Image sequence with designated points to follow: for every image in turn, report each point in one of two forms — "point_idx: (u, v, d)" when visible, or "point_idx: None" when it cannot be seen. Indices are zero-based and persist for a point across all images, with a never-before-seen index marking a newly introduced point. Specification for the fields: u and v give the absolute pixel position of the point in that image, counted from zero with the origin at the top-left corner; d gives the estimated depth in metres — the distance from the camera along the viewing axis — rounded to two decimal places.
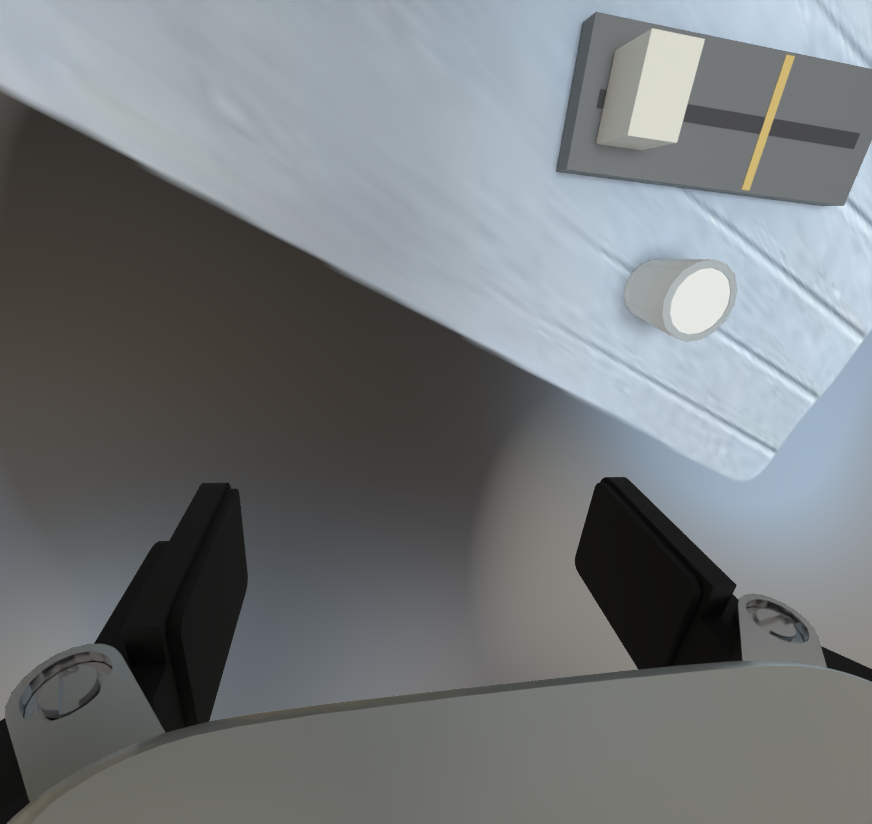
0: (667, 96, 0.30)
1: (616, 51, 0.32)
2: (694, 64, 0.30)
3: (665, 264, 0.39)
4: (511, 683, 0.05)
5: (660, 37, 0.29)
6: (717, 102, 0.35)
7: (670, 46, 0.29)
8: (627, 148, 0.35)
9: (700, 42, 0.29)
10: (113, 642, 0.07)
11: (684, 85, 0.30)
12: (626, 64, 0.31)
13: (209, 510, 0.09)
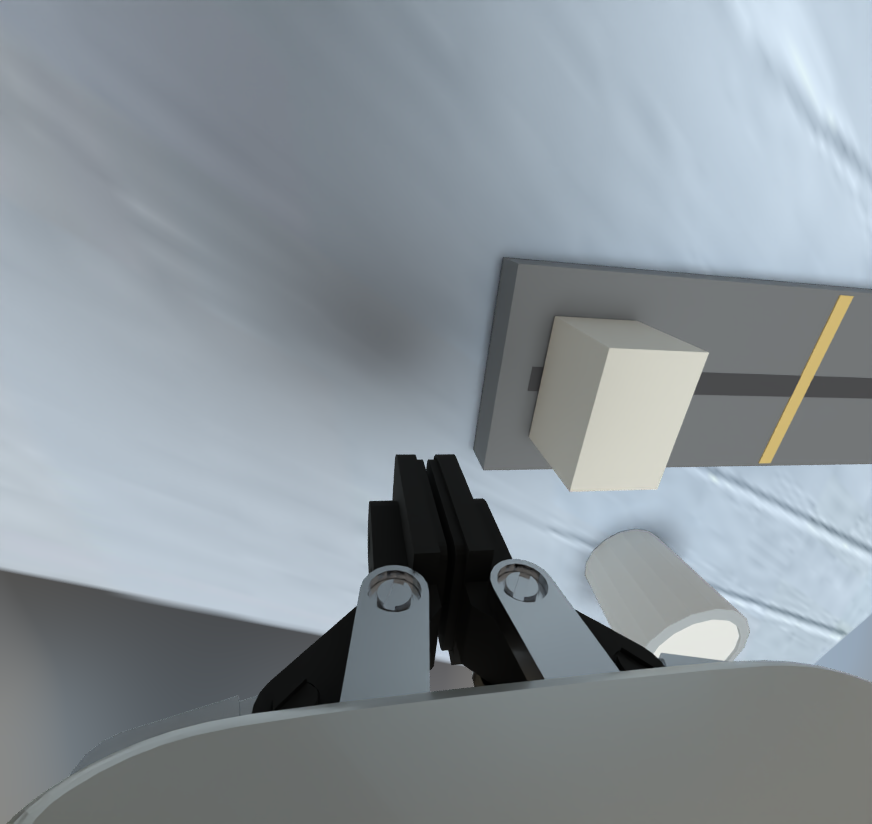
0: (640, 435, 0.17)
1: (556, 320, 0.19)
2: (689, 388, 0.16)
3: (641, 572, 0.26)
4: (511, 683, 0.05)
5: (625, 359, 0.15)
6: (726, 365, 0.22)
7: (644, 370, 0.16)
8: None
9: (700, 358, 0.16)
10: None
11: (670, 418, 0.17)
12: (570, 363, 0.18)
13: (417, 474, 0.11)
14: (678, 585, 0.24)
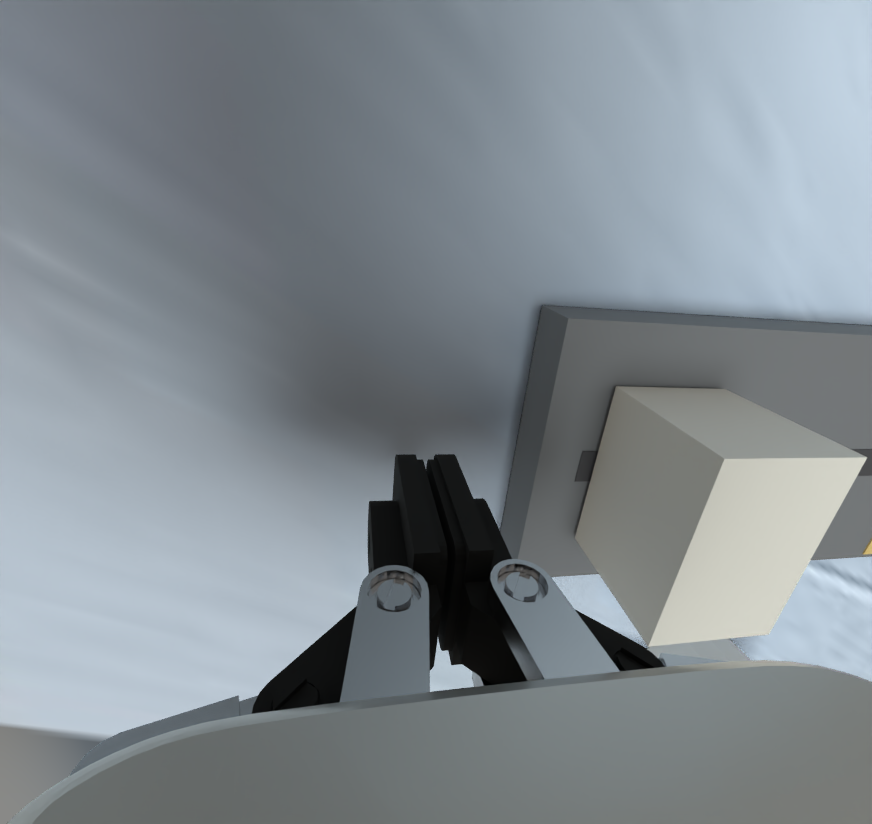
0: (755, 570, 0.12)
1: (619, 392, 0.14)
2: (831, 506, 0.11)
3: None
4: (511, 683, 0.05)
5: (746, 472, 0.10)
6: (834, 439, 0.17)
7: (771, 486, 0.10)
8: None
9: (853, 465, 0.11)
10: None
11: (799, 546, 0.11)
12: (645, 459, 0.12)
13: (418, 474, 0.11)
14: None
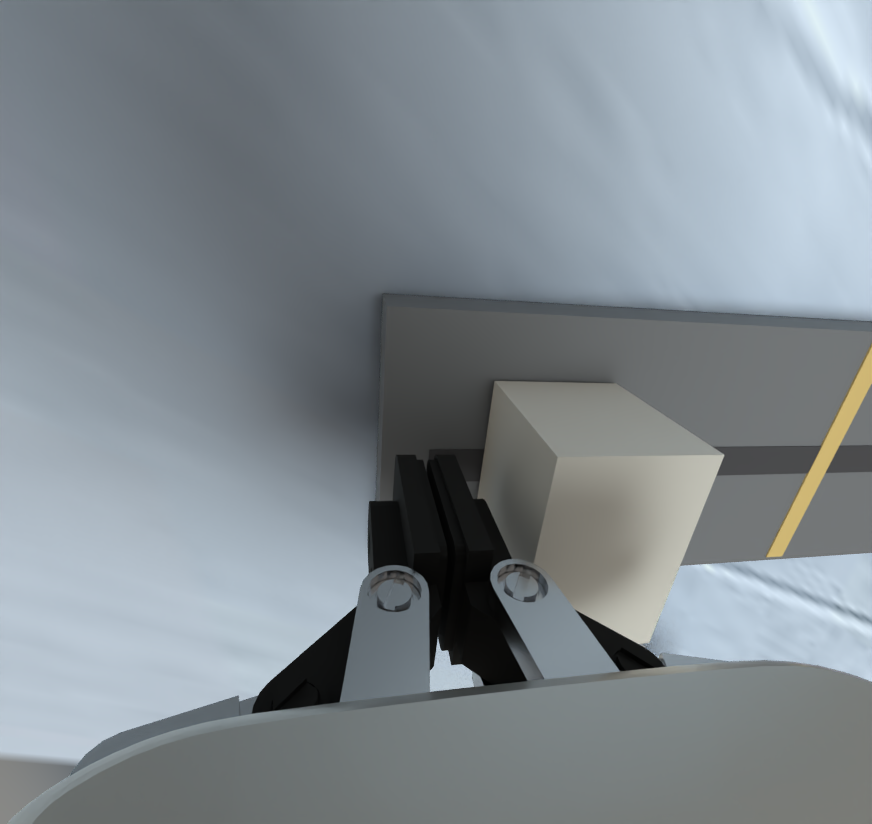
0: (618, 575, 0.11)
1: (496, 387, 0.13)
2: (693, 507, 0.10)
3: None
4: (511, 683, 0.05)
5: (587, 471, 0.09)
6: (715, 436, 0.16)
7: (619, 486, 0.10)
8: None
9: (710, 463, 0.10)
10: None
11: (665, 550, 0.11)
12: (511, 457, 0.12)
13: (417, 474, 0.11)
14: None
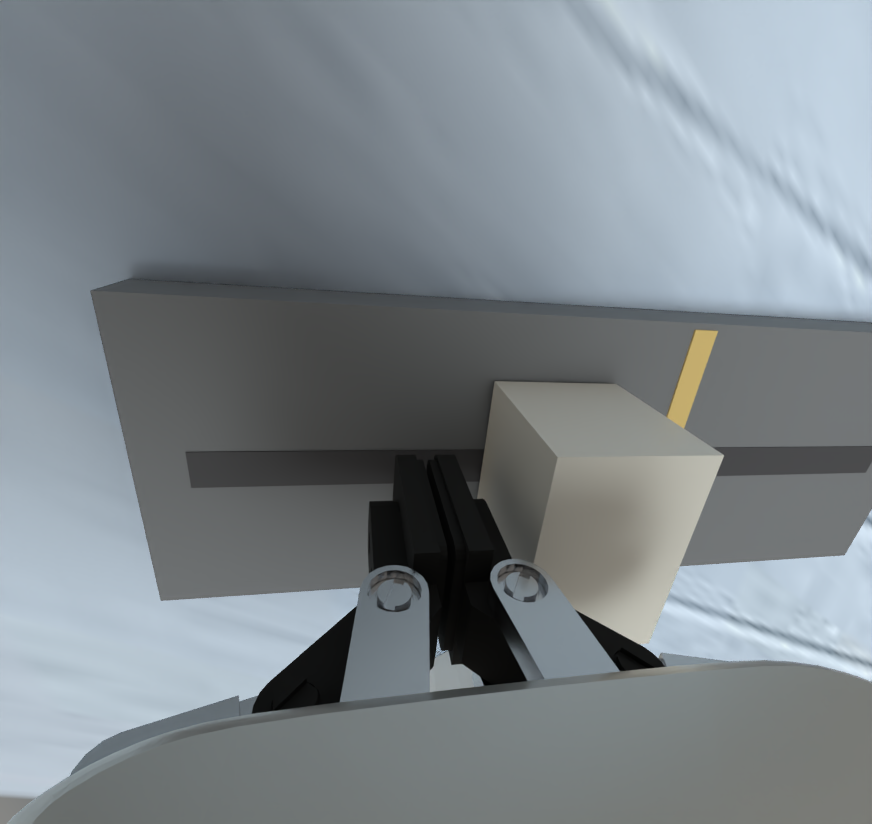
0: (618, 576, 0.11)
1: (496, 387, 0.13)
2: (693, 508, 0.10)
3: None
4: (511, 683, 0.05)
5: (587, 472, 0.09)
6: None
7: (619, 486, 0.10)
8: None
9: (710, 463, 0.10)
10: None
11: (665, 550, 0.11)
12: (510, 458, 0.12)
13: (417, 474, 0.11)
14: None
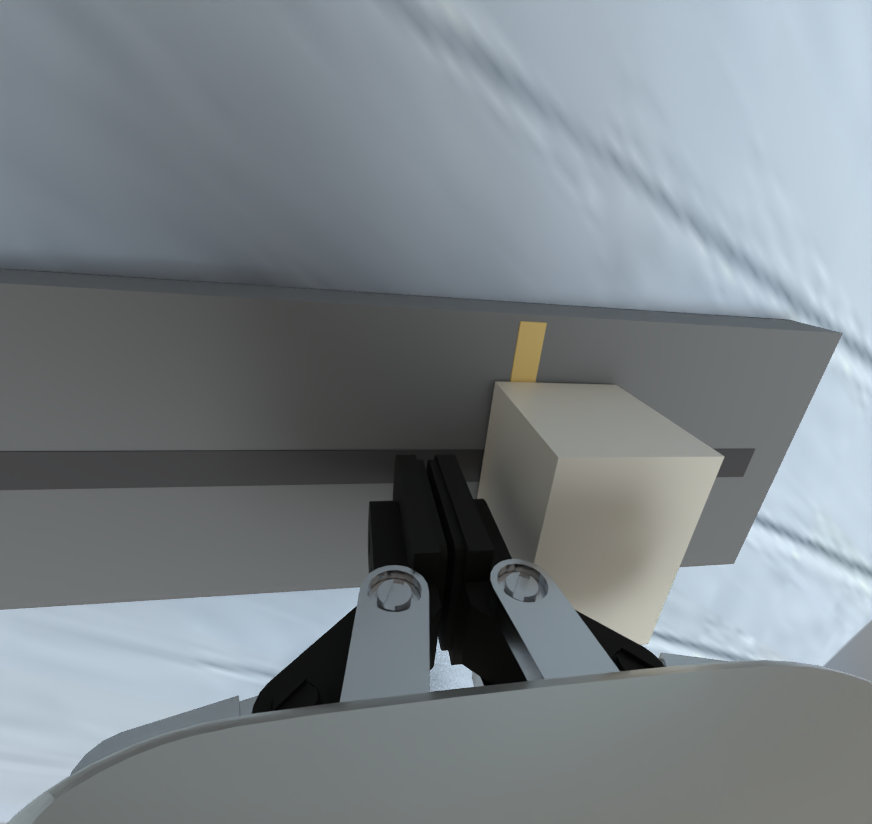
0: (618, 576, 0.11)
1: (496, 388, 0.13)
2: (693, 509, 0.10)
3: None
4: (511, 683, 0.05)
5: (587, 472, 0.09)
6: (348, 437, 0.13)
7: (619, 487, 0.10)
8: None
9: (710, 464, 0.10)
10: None
11: (664, 551, 0.11)
12: (511, 458, 0.12)
13: (417, 474, 0.11)
14: None
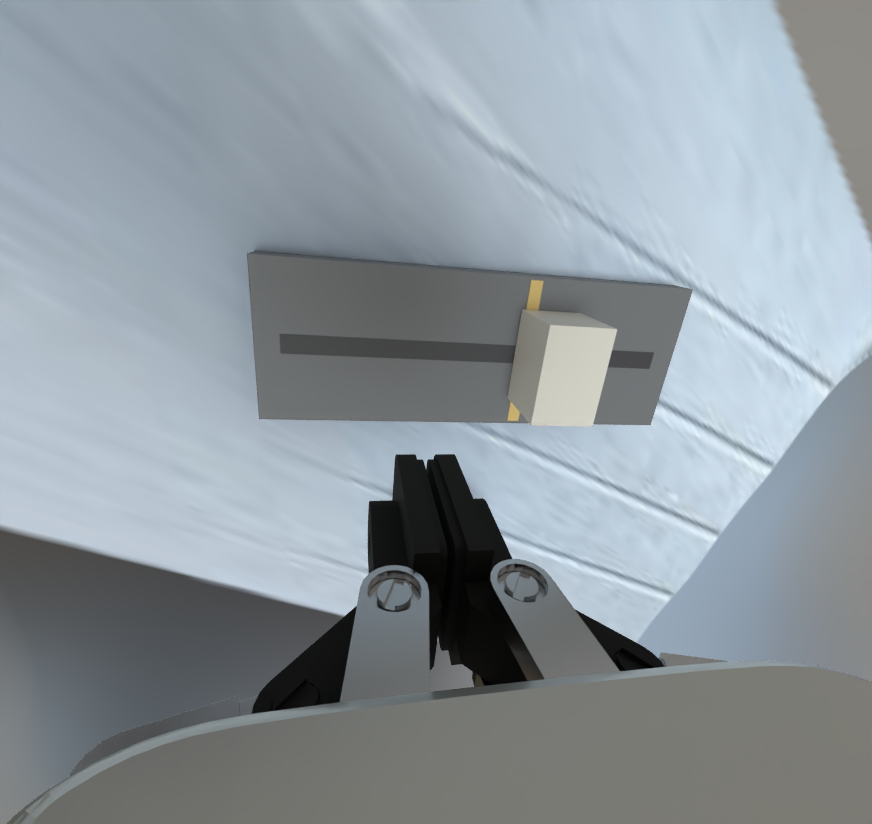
0: (576, 385, 0.25)
1: (523, 311, 0.28)
2: (606, 353, 0.25)
3: None
4: (511, 683, 0.05)
5: (561, 332, 0.24)
6: (449, 335, 0.28)
7: (575, 340, 0.24)
8: None
9: (612, 332, 0.24)
10: None
11: (596, 373, 0.25)
12: (530, 339, 0.26)
13: (417, 474, 0.11)
14: None
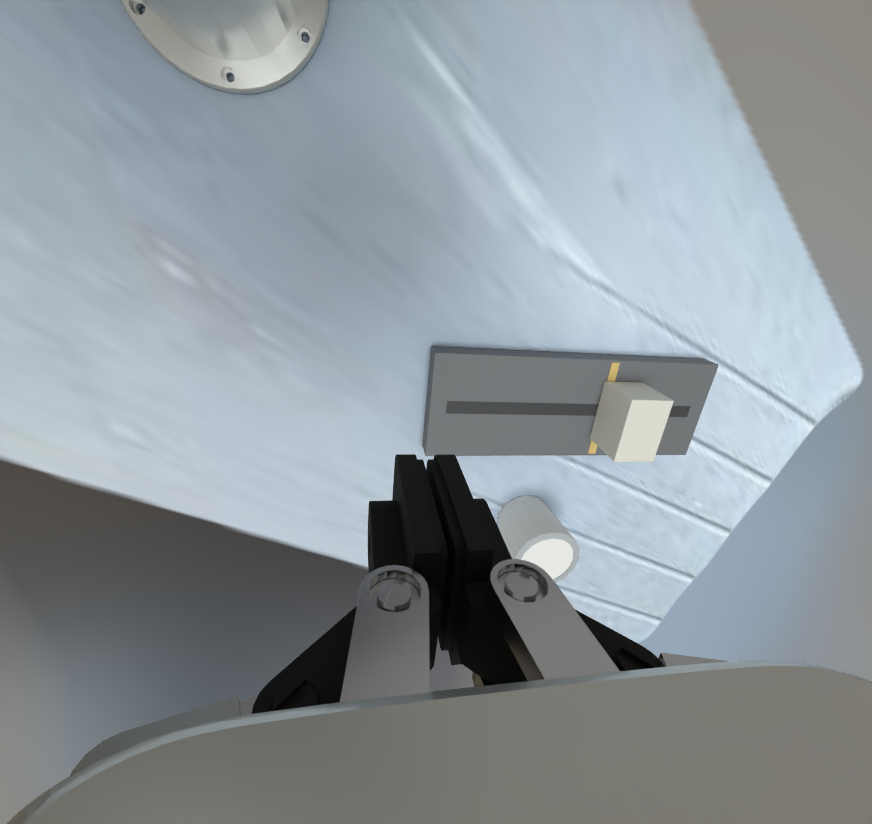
0: (645, 435, 0.39)
1: (605, 383, 0.41)
2: (665, 415, 0.38)
3: (522, 517, 0.44)
4: (511, 683, 0.05)
5: (638, 404, 0.37)
6: (555, 399, 0.41)
7: (646, 408, 0.38)
8: None
9: (670, 403, 0.38)
10: None
11: (658, 428, 0.39)
12: (613, 404, 0.40)
13: (418, 474, 0.11)
14: (539, 522, 0.43)
